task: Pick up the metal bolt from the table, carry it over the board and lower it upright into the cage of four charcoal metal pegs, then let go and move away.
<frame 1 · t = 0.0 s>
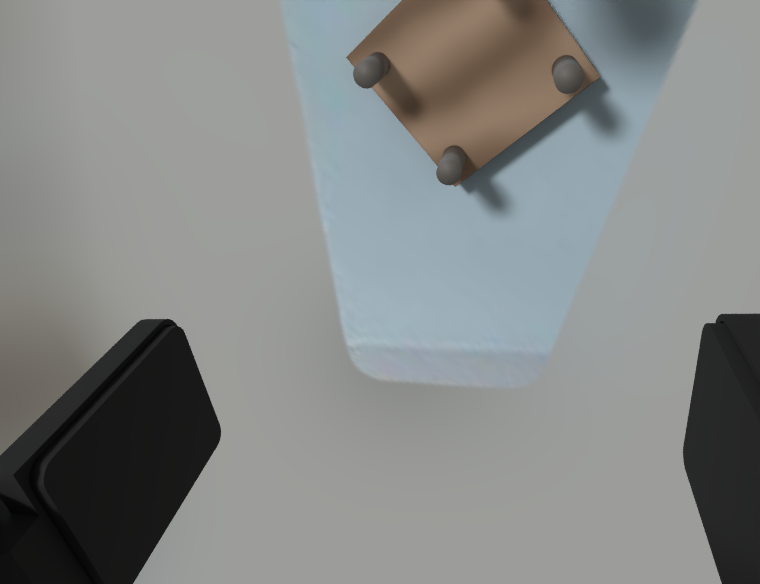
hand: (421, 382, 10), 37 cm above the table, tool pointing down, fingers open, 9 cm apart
peg holder: (470, 63, 42), on the table
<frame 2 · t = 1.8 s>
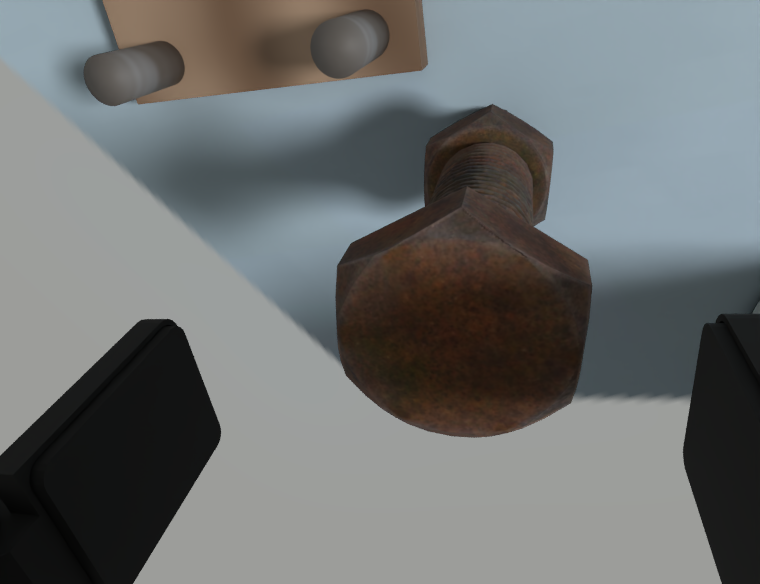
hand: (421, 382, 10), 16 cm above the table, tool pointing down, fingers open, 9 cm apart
bolt: (493, 142, 24), on the table
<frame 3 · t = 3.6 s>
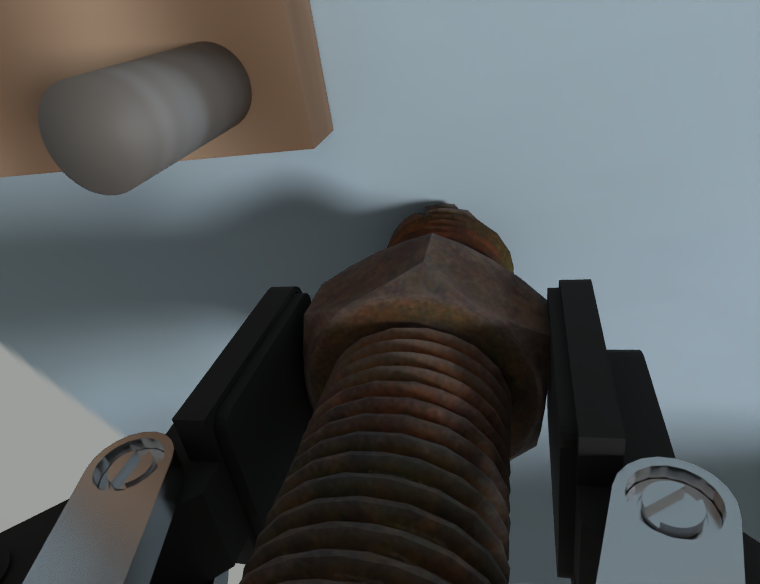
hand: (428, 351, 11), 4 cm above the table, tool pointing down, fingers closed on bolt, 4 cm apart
bolt: (451, 253, 15), on the table, touching gripper
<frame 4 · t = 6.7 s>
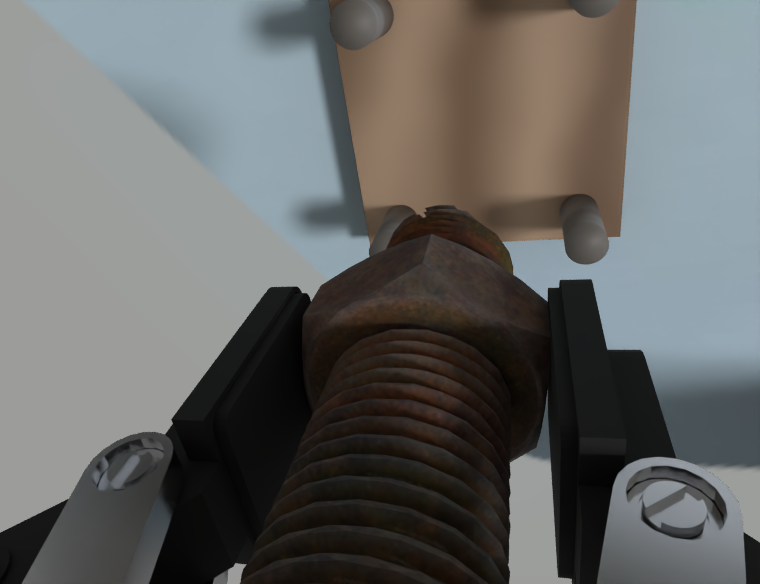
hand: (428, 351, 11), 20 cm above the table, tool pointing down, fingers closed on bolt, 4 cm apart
peg holder: (483, 110, 28), on the table
bolt: (450, 253, 15), point 16 cm above the table, touching gripper
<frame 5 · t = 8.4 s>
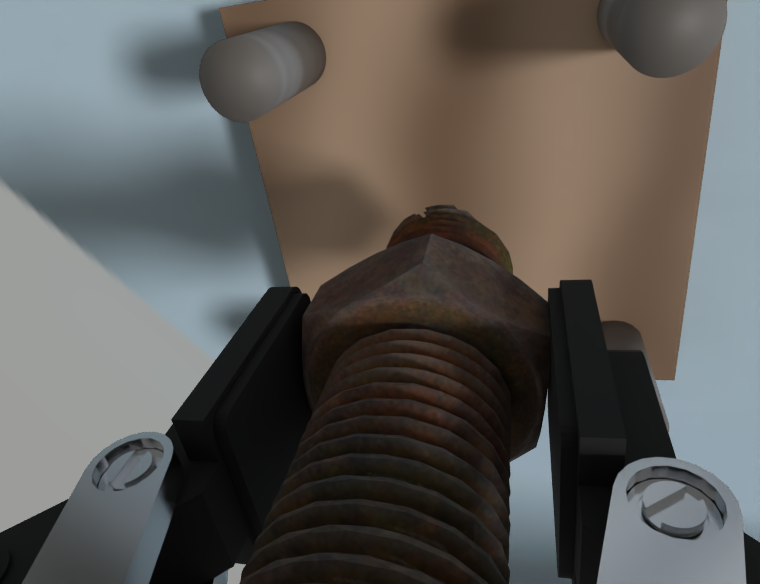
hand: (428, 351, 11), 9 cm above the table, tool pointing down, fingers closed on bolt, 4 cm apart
peg holder: (469, 192, 19), on the table
bolt: (450, 253, 15), point 5 cm above the table, touching gripper
when the fingers open (6 cm above the table, at t = 9.8 s): bolt stays where it is, resting on peg holder.
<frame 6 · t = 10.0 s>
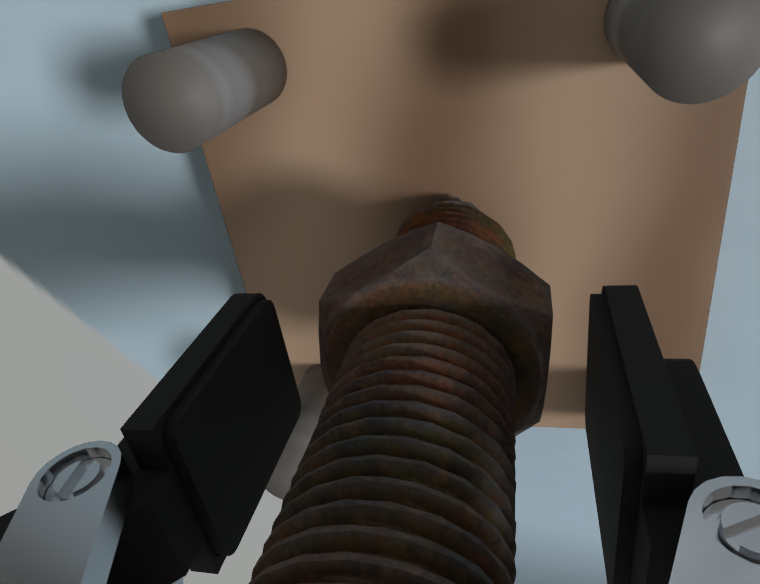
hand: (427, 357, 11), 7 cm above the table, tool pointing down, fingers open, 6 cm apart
peg holder: (456, 221, 16), on the table
bolt: (456, 244, 15), point 1 cm above the table, touching peg holder
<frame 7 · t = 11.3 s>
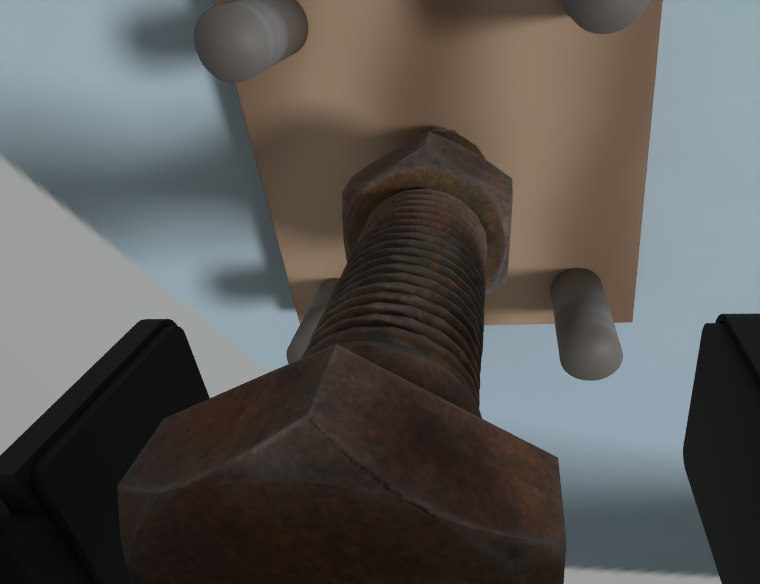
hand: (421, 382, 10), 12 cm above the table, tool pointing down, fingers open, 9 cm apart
peg holder: (443, 153, 20), on the table
bolt: (443, 168, 19), point 1 cm above the table, touching peg holder
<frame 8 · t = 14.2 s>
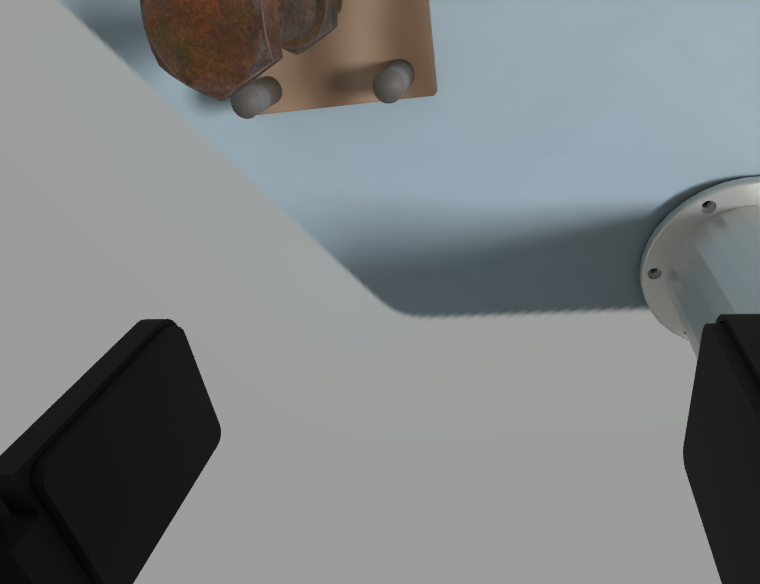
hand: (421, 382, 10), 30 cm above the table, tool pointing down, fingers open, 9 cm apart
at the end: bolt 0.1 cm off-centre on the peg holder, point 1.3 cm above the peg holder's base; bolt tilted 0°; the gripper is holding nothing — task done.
